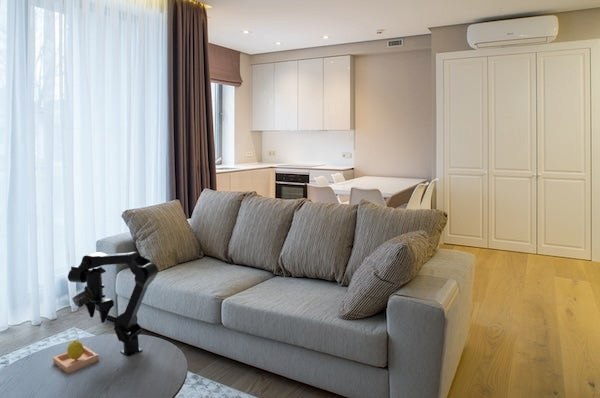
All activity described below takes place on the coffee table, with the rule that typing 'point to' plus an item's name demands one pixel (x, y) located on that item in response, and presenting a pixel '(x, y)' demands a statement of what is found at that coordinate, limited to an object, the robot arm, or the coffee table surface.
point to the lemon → (75, 350)
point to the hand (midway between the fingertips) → (97, 319)
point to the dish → (70, 364)
